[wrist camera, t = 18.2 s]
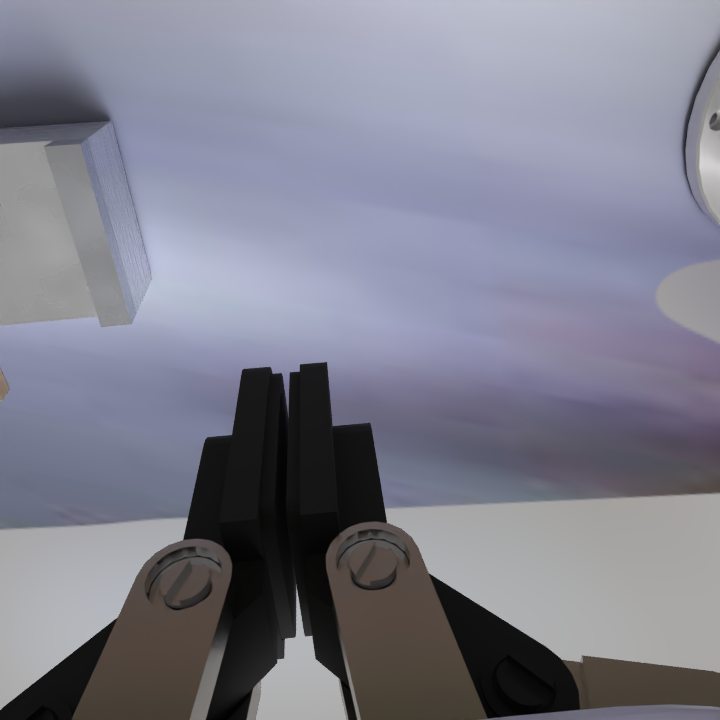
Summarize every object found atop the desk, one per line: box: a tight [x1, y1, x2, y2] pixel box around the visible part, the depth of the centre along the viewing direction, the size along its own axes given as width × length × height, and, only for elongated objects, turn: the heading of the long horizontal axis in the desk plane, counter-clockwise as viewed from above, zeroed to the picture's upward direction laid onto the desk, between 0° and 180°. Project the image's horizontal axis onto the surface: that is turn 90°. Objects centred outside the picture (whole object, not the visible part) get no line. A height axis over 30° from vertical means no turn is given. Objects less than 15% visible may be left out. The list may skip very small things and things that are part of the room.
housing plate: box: [0, 121, 152, 327], centre depth 23 cm, size 8×7×4 cm
